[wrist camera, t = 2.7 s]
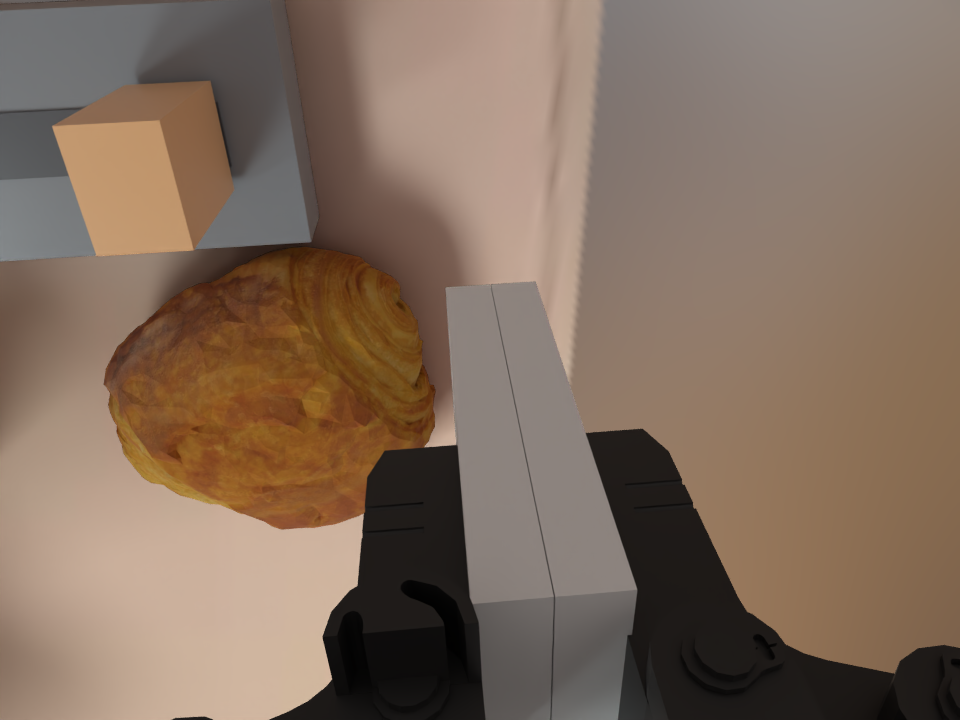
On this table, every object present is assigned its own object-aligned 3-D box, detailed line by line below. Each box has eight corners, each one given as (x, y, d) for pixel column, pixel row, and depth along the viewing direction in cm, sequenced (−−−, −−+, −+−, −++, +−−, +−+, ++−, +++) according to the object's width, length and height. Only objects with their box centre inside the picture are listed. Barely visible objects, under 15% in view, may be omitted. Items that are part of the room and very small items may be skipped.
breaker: (155, 194, 27) (96, 256, 22) (124, 85, 25) (51, 126, 20) (234, 189, 28) (193, 250, 23) (210, 80, 26) (159, 120, 20)
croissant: (95, 311, 36) (-4, 408, 29) (354, 182, 31) (307, 262, 25) (264, 500, 43) (216, 614, 36) (498, 417, 38) (491, 530, 32)
